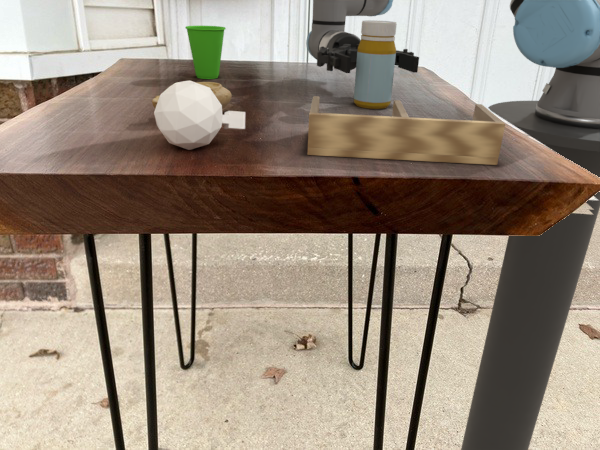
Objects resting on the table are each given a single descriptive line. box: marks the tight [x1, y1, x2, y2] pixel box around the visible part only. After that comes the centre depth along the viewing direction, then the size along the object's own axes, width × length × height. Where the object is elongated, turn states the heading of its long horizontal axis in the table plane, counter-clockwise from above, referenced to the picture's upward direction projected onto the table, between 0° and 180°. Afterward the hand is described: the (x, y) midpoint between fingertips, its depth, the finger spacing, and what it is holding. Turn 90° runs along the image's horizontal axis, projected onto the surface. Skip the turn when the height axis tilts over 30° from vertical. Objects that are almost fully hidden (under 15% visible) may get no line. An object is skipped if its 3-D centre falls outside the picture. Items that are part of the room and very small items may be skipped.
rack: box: [306, 95, 506, 166], centre depth 74 cm, size 25×12×6 cm, turn 86°
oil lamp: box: [151, 81, 233, 110], centre depth 86 cm, size 11×14×5 cm
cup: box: [185, 25, 227, 80], centre depth 121 cm, size 9×9×11 cm
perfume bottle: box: [153, 79, 246, 151], centre depth 71 cm, size 9×9×12 cm
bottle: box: [353, 19, 397, 110], centre depth 98 cm, size 7×7×15 cm
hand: (383, 65), depth 94 cm, fingers open, 12 cm apart
